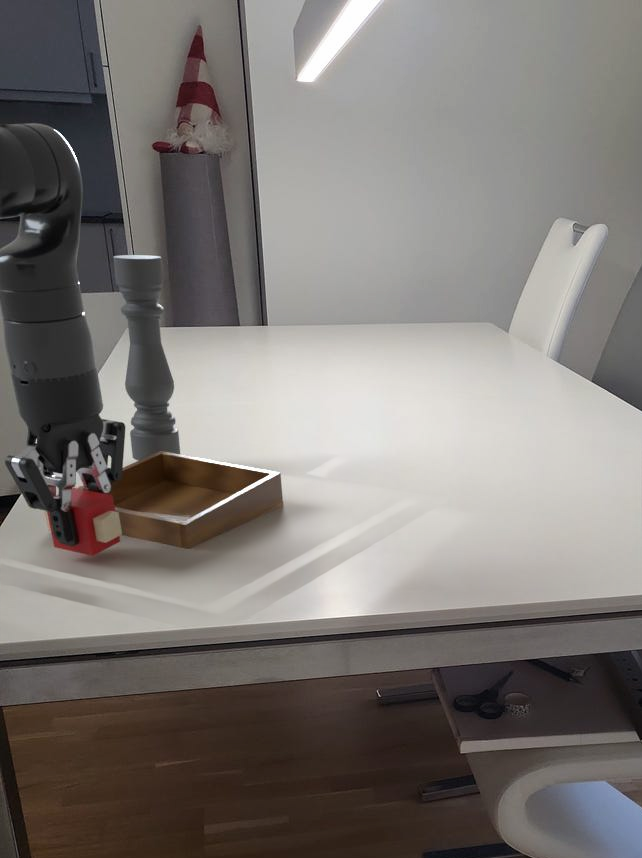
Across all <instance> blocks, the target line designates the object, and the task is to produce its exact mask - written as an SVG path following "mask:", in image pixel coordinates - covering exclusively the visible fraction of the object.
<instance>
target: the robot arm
mask: <svg viewBox="0 0 642 858" xmlns="http://www.w3.org/2000/svg"><path fill="white" fill-rule="evenodd" d="M82 207H83V179H82V174H81V168H80V164H79V162H78V159H77V157H76V155H75V152H74V151H73V148H72V147H71V145H70V143H69V142H68V141H67V139H66V138H65V137H64V136H63V135H62V134H61V133H60V132H59V131H58V130H56V129H54V128H53V127H51V126H49V125H46V124H43V123H37V122H36V123H32V122H31V123H14V124H0V220H2V219H9V218H10V219H11V218H17V217H20V219H19V225H18V226H19V227H18V232H17V233H18V234H17V236H16V237H15V239H14V240H12V241H11V242H9V243H8V244H6V245H4V246H2V247H1V248H0V314H1V315H0V316H1V317H2V318H1V319H2V326H3V327H2V328H3V341H4V348H5V349H4V350H5V352H6V353H5V354H6V357H7V363H8V368H9V372H10V377H11V382H12V386H13V392H14V396H15V401H16V406H17V411H18V414H19V417H20V418H21V419H22V420H23V421H24V423H25V425H26V427H27V437H26V447H25V448H24V449H23V450H22V451H21V452H19V453H18V454H17V455H14V454H9V455H7V456H5V457H6V458H5V460H4V464H5V467H6V468H7V471H9V473H10V475H11V477H12V479H13V481H14V482H15V484H16V486H17V487H18V489H19V491H20V493H21V495H22V497H23V499H24V501H25V502H26V504H27V506H28V507H29V508H30V509H34V510H41V511H44V510H45V511H48V512H49V514H50V519H51V524H52V528H53V533H54V537H55V539H56V540H58V541H59V543H61V544H64V545H68V546H75V545H77V544H78V543H79V537H78V532H77V527H76V522H75V516H74V511H73V510H72V509H71V506H72V488H76V484H77V474H78V477H79V478H80V480H81V483H82V486H83V485H84V488H85V489H87V490H88V491H93V492H98V493H103V494H108V492H109V491H110V489H111V485H112V483H113V482H114V481H117V482H118V481H120V480H121V478H122V469H123V467H124V455H125V443H126V442H125V440H126V424H125V423H124V422H123V421H117V420H110V419H105V418H102V417H101V416H100V414H101V413H102V412H103V410H104V403H103V401H104V400H103V396H102V390H101V385H100V379H99V372H98V366H97V360H96V355H95V350H94V343H93V338H92V337H93V336H92V334H91V331H90V327H89V325H88V321H87V317H86V313H85V308H84V303H83V297H82V290H81V285H80V277H79V273H78V267H77V266H78V265H77V264H78V253H79V247H80V233H81V221H82V210H83V209H82ZM109 457H110V467H108V464H109ZM55 473H56V474H61V475H62V476H58V475H55ZM57 489H58V495H59V498H58V497H56V495H57ZM108 495H109V494H108ZM45 511H44V512H45Z"/></svg>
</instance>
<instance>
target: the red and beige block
mask: <svg viewBox="0 0 642 858" xmlns="http://www.w3.org/2000/svg"><path fill="white" fill-rule="evenodd" d="M78 488H79V487H73V488H72V506H71V509H72V510H73V511H74V516H75V522H76V527H77V532H78V537H79V543H78V544H77V545H75V546H68V545H64V544H61V543H59V541H58V540H56V539H55V537H54V533H53V528H52V524H51V519H50V514H49V512H48V511H45V510H43V511H44V516H45V520H46V525H47V530H48V531H50V533H51V538H52V542H53V547H54V548H55V549H60V550H66V551H70V552H74V553H78V554H83V555H87V556H92V557H94V556H96V555H97V554H100V553H101V552H103V551H105V550H107V549H109V548H111V547H113V546H114V545H116V544H118V543H120V542H121V538H120V536H123V535H122V530H121V525H120V519H119V513H118V512H115V507H114V501H113V496H112V495H108V494H103V493H98V492H93V491H88V490H83V489H78ZM56 497H58V498H59V494H56Z"/></svg>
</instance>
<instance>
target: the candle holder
mask: <svg viewBox="0 0 642 858" xmlns="http://www.w3.org/2000/svg"><path fill="white" fill-rule="evenodd" d="M112 258H113V267H114V277H115V284H116V285H117V286H118V291H119V293H120V295H122V298H123V300H125V303H124V304H123V305H122V306H121V307H120V313H121V314H122V315H124V316H125V319H126V320H127V327H128V337H129V350H128V357H127V365H126V374H125V380H124V386H125V391H126V393H127V395H128V397H129V398H130V400H132V401H133V402H134V403H133V407H134V408H135V409H136V411H135V412H134V413H133V416H132V417H131V419H130V425H131V426H132V427H133V428H132V429H130V432H129V436H130V437H129V438H130V445H131V455H132V459H133V460H135V461H139V460H141V459H143V458H146V457H148V456H150V455H152V454H155V453H157V452H159V451H164V452H169V453H175V454H180V455H181V447H180V433H179V429H178V428H177V427H175V426H174V425H176V420H177V419H176V417H175V416H174V415H172V412H171V411H170V410H169V409H168V408H169V406H170V402H169V401H170V400H171V398H173V397H172V396H173V394H174V390H175V381H174V378H173V375H172V372H171V369H170V368H171V367H170V365H169V362H168V359H167V356H166V353H165V350H164V347H163V343H162V336H161V325H160V319H161V316H163V315H164V311H165V309H164V307H163V306H162V304H159V303H158V300H159V299H160V294H161V293H162V286H163V285H164V276H163V264H162V257H161V256H159V255H147V254H122V255H121V254H119V255H113V257H112Z"/></svg>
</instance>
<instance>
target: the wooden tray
mask: <svg viewBox="0 0 642 858" xmlns="http://www.w3.org/2000/svg"><path fill="white" fill-rule="evenodd" d="M77 488H78V489H83V490H87V489H85V488H84V485H83V484H82V485H80V486H79V487H77ZM108 494H109V495H112V496H113V501H114V507H115V512H118V513H119V519H120V525H121V530H122V535H121V536H123V537H127V538H128V537H129V538H133V539H138V540H144V541H148V542H152V543H157V544H161V545H167V546H172V547H178V548H182V549H187V550H189V549H192V548H194V547H196V546H199V545H201V544H203V543H205V542H208V541H209V540H211V539H213V538H214V539H215V537H219V536H220V535H222V534H225V533H227V532H229V531H232V530H233V529H235V528H238V527H240V526H242V525H243V524H247V523H248V522H251V521H253V520H255V519H257V518H259V517H262V516H263V515H266V514H268V513H270V512H273V511H275V510H276V509H279V508H281V507H283V506H284V498H283V487H282V474H281V472H277V471H274V470H273V471H272V470H267V469H263V468H262V469H261V468H255V467H251V466H245V465H239V464H236V463H235V464H234V463H229V462H223V461H218V460H212V459H207V458H201V457H197V456H190V455H185V454H181V453H180V454H175V453H169V452H164V451H159V452H157V453H155V454H152V455H150V456H148V457H146V458H143V459H141V460H139V461H138V460H136V461H134V462H132V463H130V464H127V465H125V466H123V469H122V478H121V480H120V481H118V482H117V481H114V482H113V483H112V485H111V489H110V491H109V492H108ZM157 514H158V515H157ZM160 515H166V516H177V517H185V518H187V519H186V520H184V521H183V520H179V519H176V518H175V519H174V518H171V517H170V518H169V517H165V516H160Z"/></svg>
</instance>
